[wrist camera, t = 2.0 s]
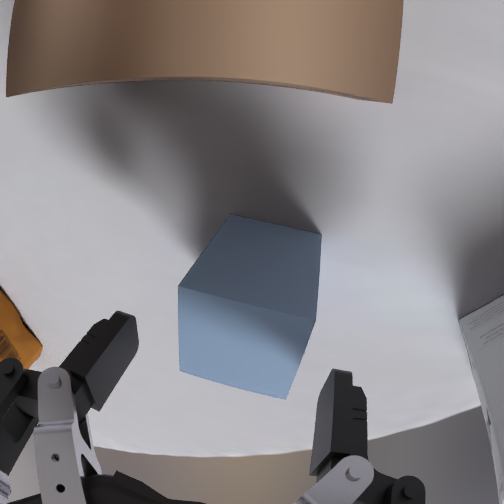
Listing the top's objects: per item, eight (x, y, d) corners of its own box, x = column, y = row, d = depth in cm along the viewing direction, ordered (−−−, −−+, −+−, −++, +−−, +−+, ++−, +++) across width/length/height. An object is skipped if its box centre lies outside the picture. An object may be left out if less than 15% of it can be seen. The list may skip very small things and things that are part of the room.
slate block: (321, 234, 17) (315, 320, 11) (301, 306, 19) (285, 399, 13) (230, 213, 17) (178, 285, 11) (222, 287, 20) (179, 370, 14)
